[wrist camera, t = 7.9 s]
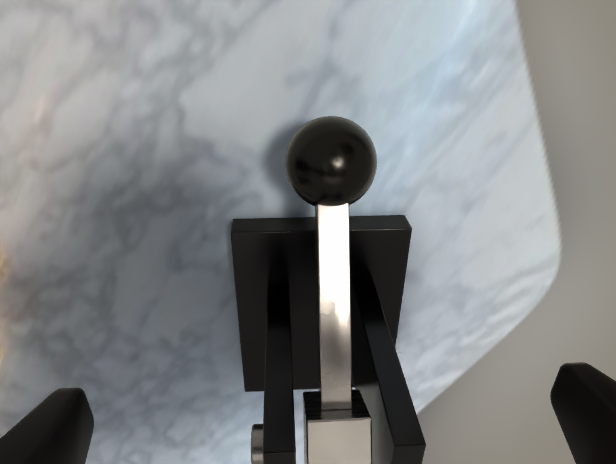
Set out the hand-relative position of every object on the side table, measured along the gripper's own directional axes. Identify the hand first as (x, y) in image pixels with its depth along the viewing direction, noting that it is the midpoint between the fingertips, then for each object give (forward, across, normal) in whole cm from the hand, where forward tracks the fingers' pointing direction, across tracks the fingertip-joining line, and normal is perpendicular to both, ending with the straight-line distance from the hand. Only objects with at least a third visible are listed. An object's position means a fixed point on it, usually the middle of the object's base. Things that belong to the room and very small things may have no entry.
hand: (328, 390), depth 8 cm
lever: (+8, -1, +4) cm, 9 cm away
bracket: (+12, -1, +8) cm, 15 cm away
